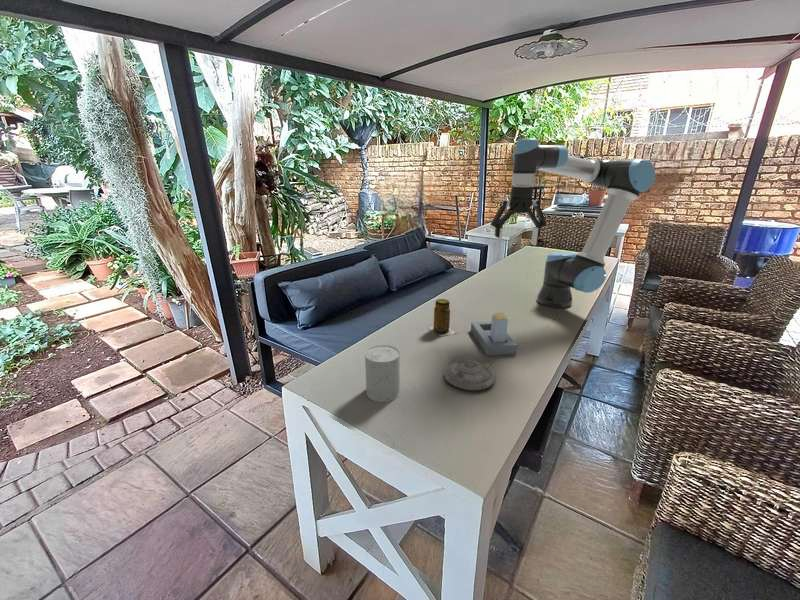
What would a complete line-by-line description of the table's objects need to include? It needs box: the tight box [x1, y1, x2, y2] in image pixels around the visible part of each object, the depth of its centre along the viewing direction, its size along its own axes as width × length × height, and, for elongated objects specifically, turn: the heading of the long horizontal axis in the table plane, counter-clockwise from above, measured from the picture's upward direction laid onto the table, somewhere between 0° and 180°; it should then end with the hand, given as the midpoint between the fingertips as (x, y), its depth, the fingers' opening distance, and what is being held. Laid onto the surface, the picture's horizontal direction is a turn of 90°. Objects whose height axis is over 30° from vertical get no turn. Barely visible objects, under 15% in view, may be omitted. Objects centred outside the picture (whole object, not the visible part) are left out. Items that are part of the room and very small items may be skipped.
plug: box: [490, 312, 509, 343], centre depth 126 cm, size 4×4×12 cm
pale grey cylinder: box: [364, 344, 401, 403], centre depth 102 cm, size 10×10×12 cm
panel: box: [470, 320, 518, 357], centre depth 132 cm, size 10×20×4 cm, turn 6°
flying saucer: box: [443, 359, 496, 391], centre depth 109 cm, size 15×15×6 cm
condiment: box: [428, 298, 457, 337], centre depth 140 cm, size 7×8×12 cm
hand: (516, 245), depth 138 cm, fingers open, 13 cm apart
